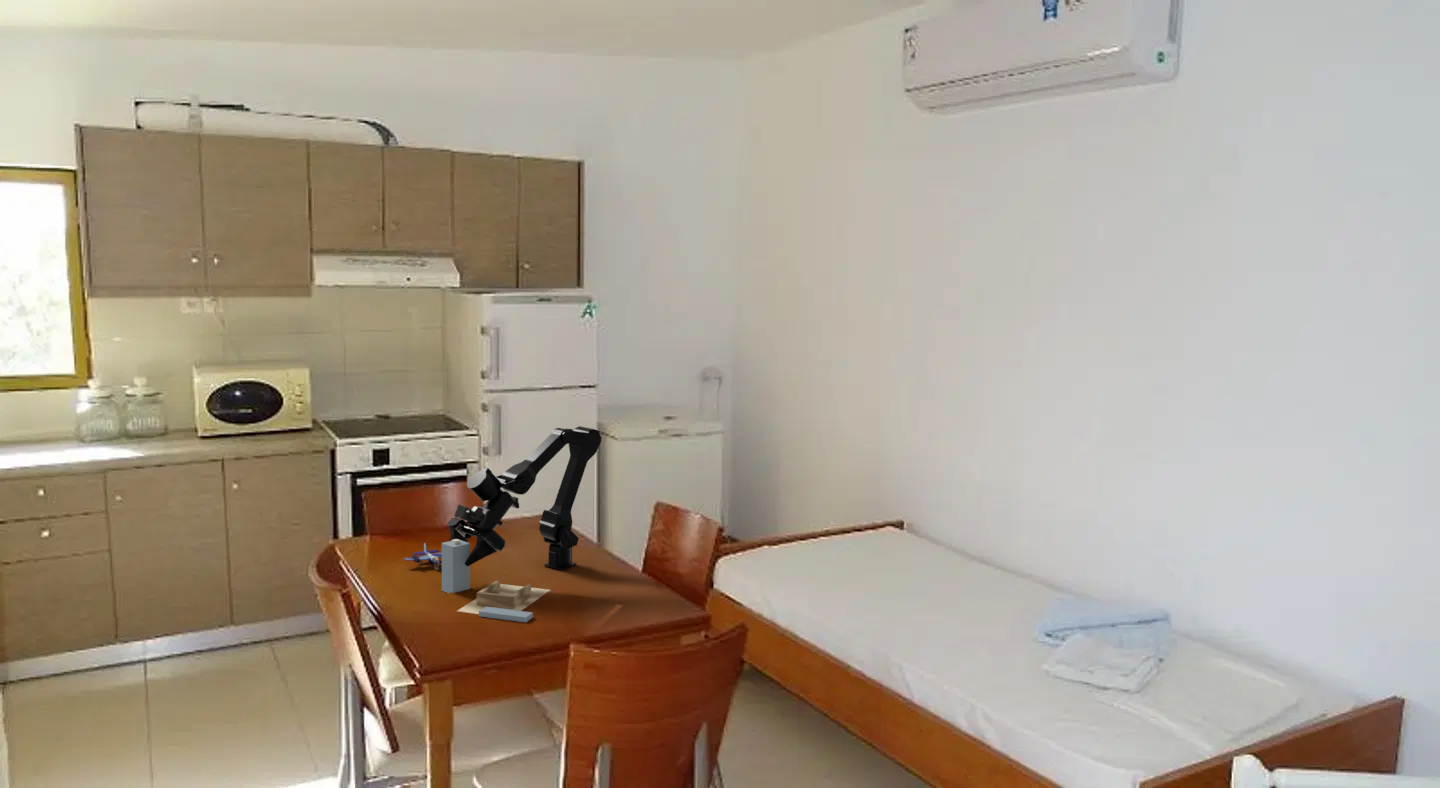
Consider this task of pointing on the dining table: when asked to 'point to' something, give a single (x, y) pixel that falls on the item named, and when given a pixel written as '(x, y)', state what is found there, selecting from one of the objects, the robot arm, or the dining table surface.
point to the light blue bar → (505, 614)
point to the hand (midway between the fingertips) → (455, 561)
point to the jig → (504, 597)
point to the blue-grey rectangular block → (455, 566)
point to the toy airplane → (426, 556)
